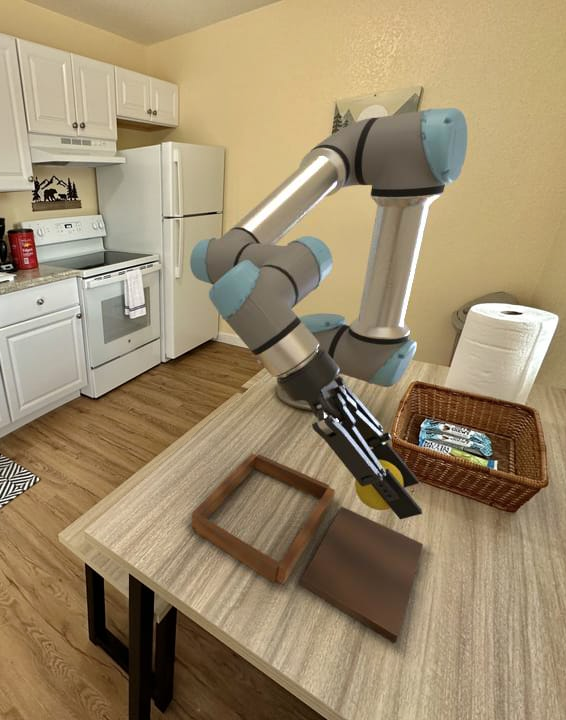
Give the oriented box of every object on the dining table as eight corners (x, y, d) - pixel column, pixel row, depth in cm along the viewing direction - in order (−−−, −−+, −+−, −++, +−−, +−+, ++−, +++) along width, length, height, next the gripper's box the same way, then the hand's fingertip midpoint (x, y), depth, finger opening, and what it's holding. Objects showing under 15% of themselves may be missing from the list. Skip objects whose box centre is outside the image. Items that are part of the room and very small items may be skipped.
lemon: (401, 525, 51) (418, 478, 48) (356, 519, 52) (369, 473, 49) (386, 495, 56) (400, 451, 53) (345, 491, 57) (356, 446, 54)
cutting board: (340, 512, 68) (341, 506, 67) (420, 550, 60) (423, 543, 60) (300, 584, 56) (301, 577, 55) (394, 643, 48) (397, 636, 48)
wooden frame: (251, 463, 81) (253, 451, 79) (333, 500, 70) (336, 488, 69) (189, 528, 65) (189, 515, 64) (281, 588, 55) (284, 573, 54)
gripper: (288, 353, 61) (382, 468, 60) (257, 406, 47) (381, 557, 46) (330, 327, 57) (433, 450, 56) (310, 376, 42) (449, 544, 41)
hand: (409, 498), depth 51 cm, fingers closed on lemon, 5 cm apart
